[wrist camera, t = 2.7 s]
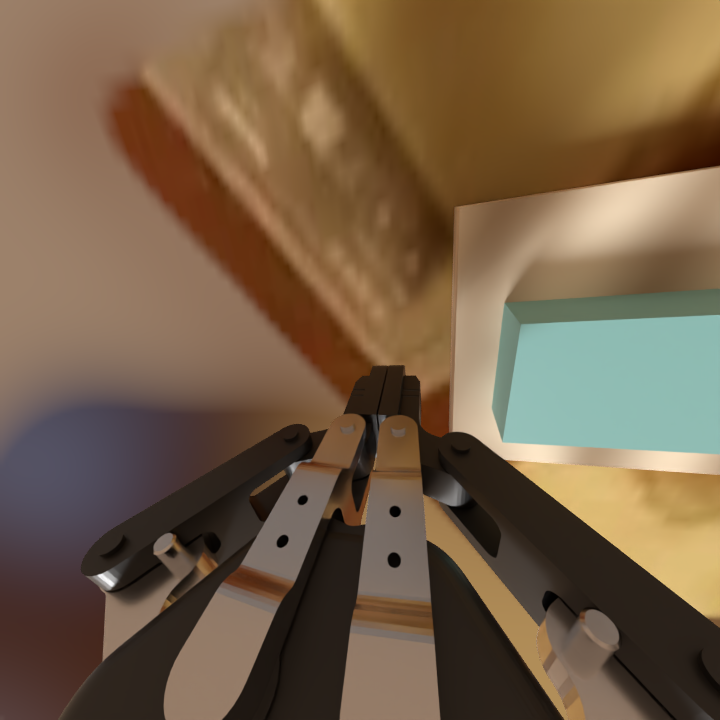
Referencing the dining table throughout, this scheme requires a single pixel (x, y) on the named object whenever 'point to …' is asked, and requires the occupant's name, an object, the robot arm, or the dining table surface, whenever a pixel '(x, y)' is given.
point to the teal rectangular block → (612, 372)
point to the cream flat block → (575, 284)
